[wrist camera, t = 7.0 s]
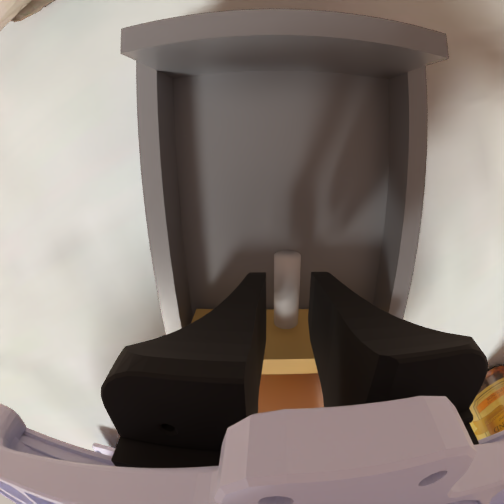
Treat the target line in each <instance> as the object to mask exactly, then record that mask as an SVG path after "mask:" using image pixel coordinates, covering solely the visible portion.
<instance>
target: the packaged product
mask: <svg viewBox="0 0 504 504" xmlns="http://www.w3.org/2000/svg"><path fill="white" fill-rule="evenodd" d="M53 1H55V0H0V31H1V30H2V29H3V28H4V27H5V25H6V24H7V23H9V22H10V21H14V22H16V21H21V20H23V19H25V18H26V17H28V16H31V15H33V14H35V13H36V12H38V11H40V10H41V9H42V7H43V6H44V7H46V5H47V4H49V3H51V2H53Z"/></svg>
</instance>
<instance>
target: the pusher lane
mask: <svg viewBox="0 0 504 504" xmlns="http://www.w3.org/2000/svg"><path fill="white" fill-rule="evenodd" d="M121 54H123V55H125V56H127V57H129V58H132V59H134V60H136V82H137V116H138V135H139V151H140V163H141V175H142V185H143V195H144V204H145V213H146V221H147V228H148V236H149V243H150V250H151V256H152V263H153V269H154V275H155V281H156V286H157V292H158V297H159V303H160V308H161V313H162V318H163V323H164V328H165V332H166V335H167V334H170V333H172V332H174V331H177V330H179V329H181V328H183V327H185V326H187V325H189V324H191V322H192V319H193V317H194V314H195V311H196V309H214V308H216V307H217V306H218V305H219V304H220V303H221V302H223V301H224V300H225V299H226V298H227V297H228V296H229V295H230V294H231V293H232V292H233V291H234V290H235V288H236V287H237V286H238V285H239V284H240V283H241V281H242V280H243V279H244V278H245V276H246V275H247V274H248V273H249V272H266V309H274V254H275V253H277V252H279V251H295V252H298V253H299V254H300V255H301V267H300V291H299V309H309V296H310V280H311V272H329V273H330V274H331V275H333V276H334V277H335V278H337V279H338V280H339V281H340V282H342V283H343V284H344V285H346V286H347V287H348V288H349V289H351V290H352V291H353V292H355V293H356V294H358V295H359V296H360V297H362V298H363V299H365V300H367V301H368V302H370V303H371V304H373V305H374V306H376V307H378V308H380V309H382V310H384V311H386V312H388V313H390V314H391V315H394V316H396V317H398V318H400V319H403V316H404V312H405V308H406V303H407V299H408V294H409V290H410V285H411V280H412V275H413V269H414V264H415V258H416V252H417V246H418V239H419V232H420V225H421V217H422V208H423V198H424V187H425V174H426V157H427V85H426V68H425V66H426V65H429V64H432V63H436V62H439V61H442V60H445V59H448V58H449V56H448V46H447V38H446V34H444V33H441V32H438V31H434V30H431V29H427V28H423V27H419V26H415V25H411V24H407V23H402V22H398V21H393V20H388V19H383V18H377V17H371V16H365V15H358V14H350V13H342V12H332V11H320V10H303V9H248V10H231V11H219V12H209V13H201V14H193V15H186V16H179V17H173V18H168V19H162V20H157V21H152V22H147V23H143V24H139V25H134V26H130V27H126V28H122V29H121Z"/></svg>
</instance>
